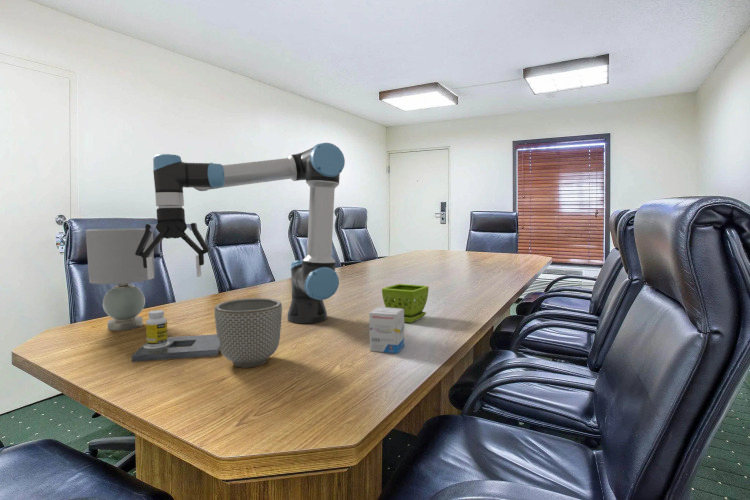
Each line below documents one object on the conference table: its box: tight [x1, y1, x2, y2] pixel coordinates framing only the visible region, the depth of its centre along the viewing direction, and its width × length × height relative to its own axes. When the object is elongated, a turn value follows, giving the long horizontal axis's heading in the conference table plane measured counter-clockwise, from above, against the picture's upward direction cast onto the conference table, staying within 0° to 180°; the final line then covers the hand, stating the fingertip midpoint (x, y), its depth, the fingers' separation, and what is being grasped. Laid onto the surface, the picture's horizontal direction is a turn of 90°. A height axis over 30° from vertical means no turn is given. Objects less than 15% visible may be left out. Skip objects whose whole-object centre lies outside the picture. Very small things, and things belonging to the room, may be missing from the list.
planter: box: [214, 297, 283, 369], centre depth 108 cm, size 17×17×16 cm
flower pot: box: [381, 283, 430, 323], centre depth 154 cm, size 14×14×13 cm
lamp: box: [85, 228, 156, 332], centre depth 144 cm, size 20×20×35 cm
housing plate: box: [131, 333, 221, 363], centre depth 120 cm, size 22×16×2 cm
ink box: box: [368, 306, 405, 355], centre depth 120 cm, size 9×8×12 cm
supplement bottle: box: [145, 309, 168, 346], centre depth 118 cm, size 5×5×10 cm
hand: (175, 277), depth 122 cm, fingers open, 13 cm apart
